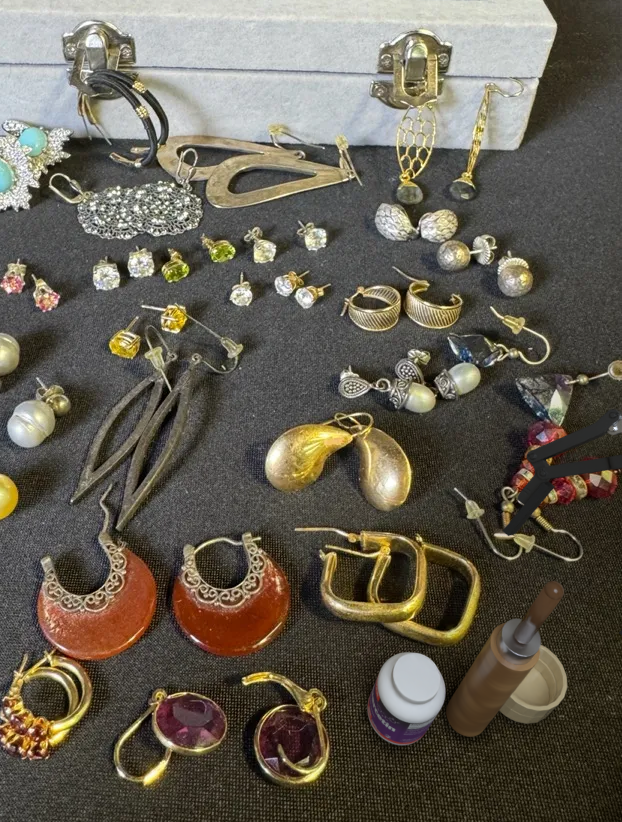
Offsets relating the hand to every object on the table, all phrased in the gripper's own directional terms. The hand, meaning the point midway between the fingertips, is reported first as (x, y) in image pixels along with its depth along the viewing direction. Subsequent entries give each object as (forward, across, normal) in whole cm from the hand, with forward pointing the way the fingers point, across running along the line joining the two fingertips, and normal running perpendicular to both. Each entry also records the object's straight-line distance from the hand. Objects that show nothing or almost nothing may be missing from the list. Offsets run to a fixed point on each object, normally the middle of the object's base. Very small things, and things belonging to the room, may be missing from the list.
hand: (563, 581), depth 79 cm
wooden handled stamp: (+10, 0, -5) cm, 11 cm away
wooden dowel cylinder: (+27, 0, -22) cm, 35 cm away
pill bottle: (+32, +6, -18) cm, 37 cm away
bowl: (+22, -3, -28) cm, 35 cm away
